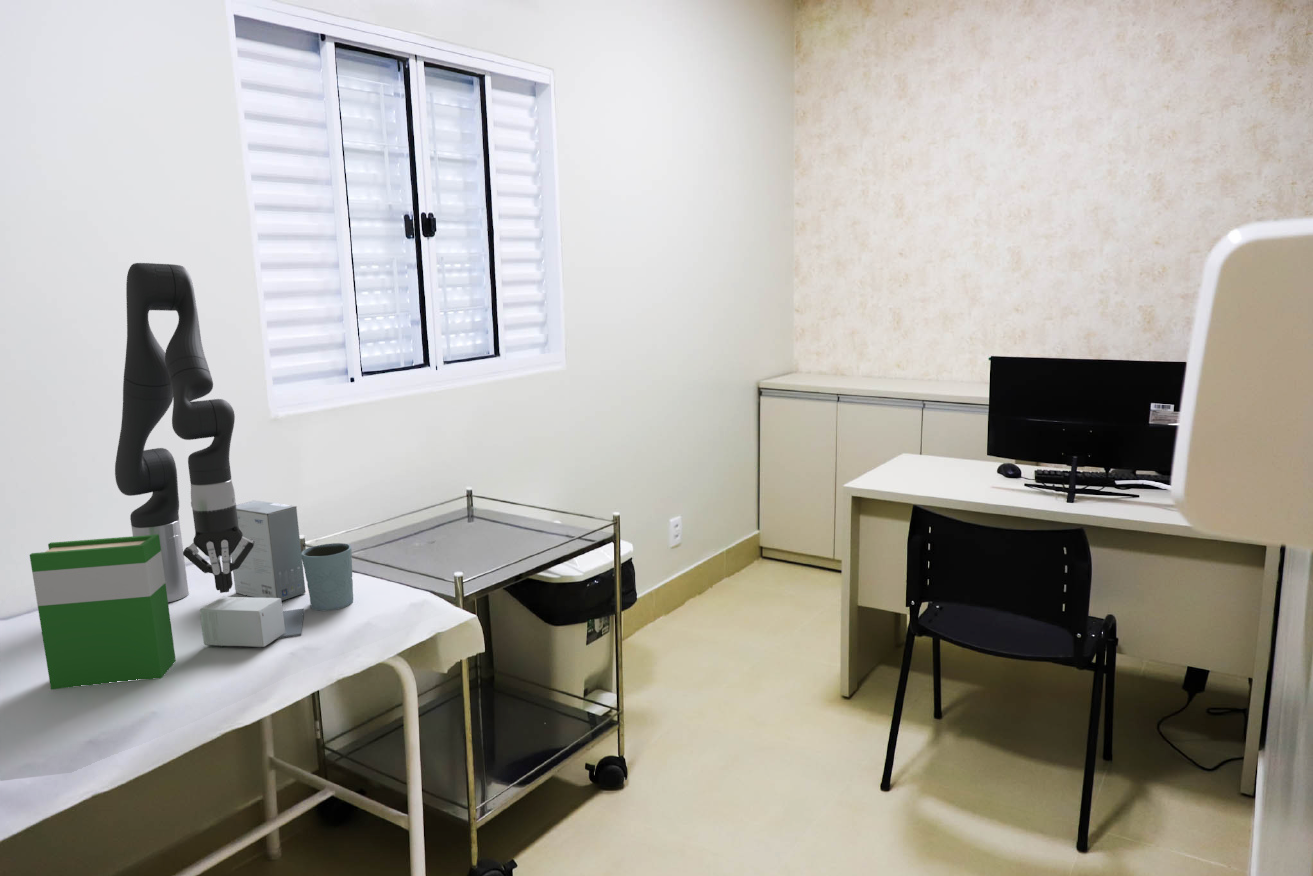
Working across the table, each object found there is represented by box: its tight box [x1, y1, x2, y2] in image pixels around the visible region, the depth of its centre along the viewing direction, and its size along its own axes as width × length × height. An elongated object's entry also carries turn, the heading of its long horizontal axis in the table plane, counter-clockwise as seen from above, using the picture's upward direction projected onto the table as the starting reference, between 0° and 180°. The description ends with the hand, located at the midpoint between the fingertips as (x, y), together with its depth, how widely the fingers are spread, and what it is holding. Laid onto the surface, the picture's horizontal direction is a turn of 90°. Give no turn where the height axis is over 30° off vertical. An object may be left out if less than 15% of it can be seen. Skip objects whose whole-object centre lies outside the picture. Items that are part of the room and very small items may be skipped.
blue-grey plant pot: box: [301, 542, 354, 611], centre depth 192 cm, size 10×10×12 cm
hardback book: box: [29, 534, 177, 690], centre depth 158 cm, size 18×7×24 cm, turn 100°
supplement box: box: [199, 596, 285, 648], centre depth 173 cm, size 7×7×13 cm
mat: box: [278, 607, 305, 639], centre depth 181 cm, size 15×14×1 cm
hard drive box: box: [231, 500, 307, 602], centre depth 200 cm, size 16×8×20 cm, turn 58°
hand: (224, 591), depth 176 cm, fingers closed
